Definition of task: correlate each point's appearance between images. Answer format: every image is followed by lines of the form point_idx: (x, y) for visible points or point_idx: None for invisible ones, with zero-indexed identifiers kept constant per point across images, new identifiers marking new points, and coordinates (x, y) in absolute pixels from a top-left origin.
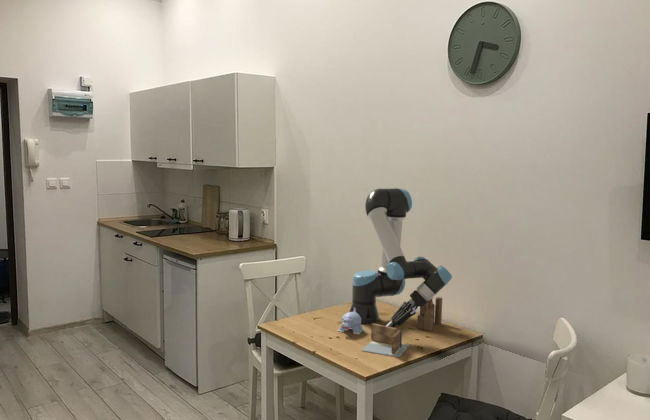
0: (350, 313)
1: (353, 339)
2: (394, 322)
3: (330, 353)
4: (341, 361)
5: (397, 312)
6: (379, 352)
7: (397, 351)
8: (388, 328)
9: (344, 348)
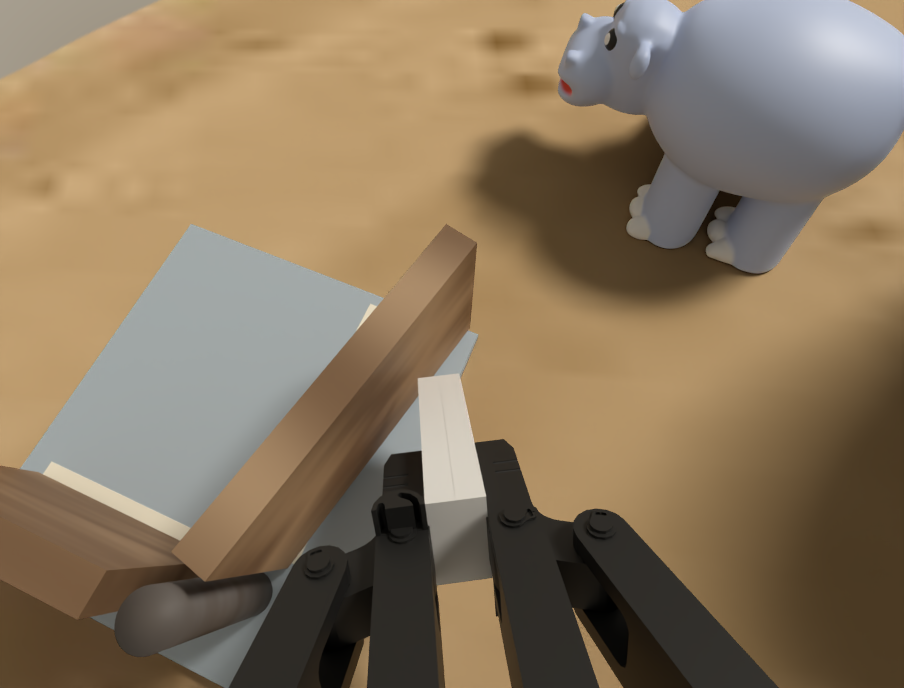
0: (781, 10)
1: (483, 185)
2: (378, 547)
3: (171, 42)
4: (4, 98)
5: (672, 668)
6: (108, 364)
7: None
8: (274, 437)
9: (266, 120)
